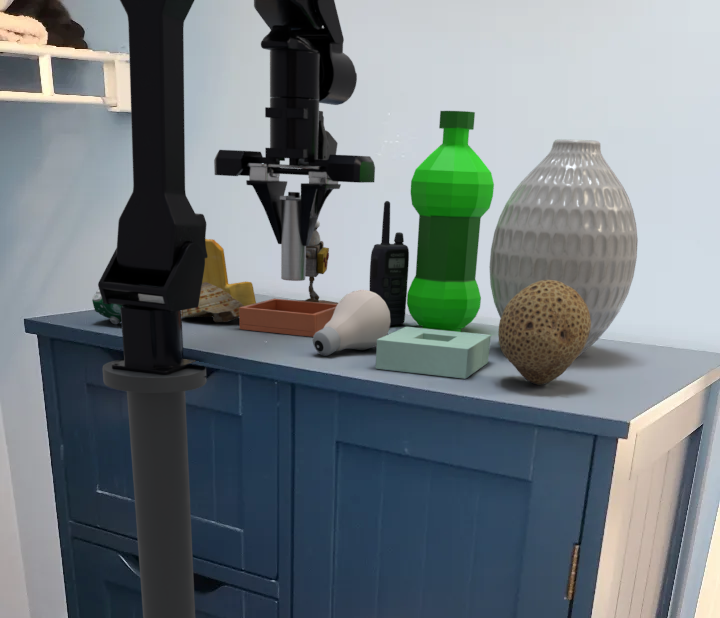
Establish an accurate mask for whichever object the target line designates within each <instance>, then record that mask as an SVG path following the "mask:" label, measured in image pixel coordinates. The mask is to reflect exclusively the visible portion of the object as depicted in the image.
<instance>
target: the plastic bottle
mask: <svg viewBox="0 0 720 618" xmlns="http://www.w3.org/2000/svg"><path fill="white" fill-rule="evenodd" d="M475 117H476V112H474V111H468V110H467V111H465V110H440V113H439V124H438V125H439V127H438V128H439V129H441V130H442V131H443V132H442V143H441V144H440V145H439V146H438V147H436V149H434V150H433V151H432V152H431V153H430V154H429V155H428V156H427V157H426V158H425V159H424V160H423V161H422V162H421V163H420V164H419V165H418V166H416V168H415V170H414V171H413V172H414V173H413V175H412V178H411V180H410V198H411V205H412V207H413V208H414V210H415V211H416V212H417V214H418V231H417V249H416V267H415V276H414V278H413V279H412V281H411V284H410V286H409V288H408V290H407V297H406V307H407V308H408V312H409V314H410V316H411V317H412V319H413V320H414V321H415V322H416V323H417V325H418V326H420V327H421V328H425V329H435V330H445V331H455V332H462V329H465V328H466V327H467V326H468V325H470V324H471V323H472V322H473V320H475V318H476V317H477V316H478V313H479V310H480V309H481V302H482V301H481V300H482V296H481V292H480V288H479V285H478V282H477V280H476V279H477V278H476V275H477V266H478V265H477V264H478V254H479V253H478V251H479V241H480V232H481V231H480V230H481V219H482V217H483V216H484V215H485V214H486V213H487V212H488V211H489V210H490V208H491V205H492V202H493V197H494V189H495V188H494V187H495V184H494V179H493V174H492V171H491V170H490V169H489V167H488V166H487V165H486V164H485V162H484V161H483V159H482V158H481V157H480V156H479V155H478V154H477V153H476V152H475V150H474V149H473V148H472V147H471V146H470V145H469V137H470V131H473V130H474V128H475Z"/></svg>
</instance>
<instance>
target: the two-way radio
mask: <svg viewBox="0 0 720 618" xmlns="http://www.w3.org/2000/svg"><path fill="white" fill-rule="evenodd" d="M381 227H382V228H381V242H380V243H376V244H374V245H373V247H372V250H371V253H370V265H369V291H371V292H374V293H376V294H378V295H379V296H380V297H381V298H382V299H383V300H384V301H385V302H386V305H387V307H388V309H389V311H390V320H391V322H390V326H396V325H397V326H402V325H403V324H405V320H406V307H407V294H408V278H409V267H410V265H409V264H410V263H409V261H410V251H409V247H408V245H406V244H404V242H405V240H404V233H403V232H395V235H394V239H393V242H394V243H391V242H390V239H391V238H390V235H391V202H390V201H389V200H386V201H384V202H383V213H382V226H381Z"/></svg>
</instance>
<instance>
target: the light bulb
mask: <svg viewBox="0 0 720 618" xmlns="http://www.w3.org/2000/svg"><path fill="white" fill-rule="evenodd" d="M337 303H338V304H337V306H336V308H335V311H334V313H333V316H332V318H331V320H330V321H329V322H328V323H327V324H326V325H325V326H324V328H323V329H321V330H320V331H318V332H316V333H315V334H314V336H313V337H312V345H313V347H314V350H316V352H317V353H318V354H319V355H321V356H324V357H328V356H330V355H331V354H333V353H335V352H340V351H342V350H345V349H348V350H357V351H365V350H368V349H372V348H375V347H377V339H379V338H382V337H384V336H386V335H389V331H390V327H391V325H390V322H391V320H390V311H389V309H388V307H387V305H386V302H385V301H384V300H383V299H382V298H381V297H380V296H379V295H378V294H376V293H374V292H371V291H370V290H367V289H358V290H353V291H351V292H349V293H346V294H345V295H344V296H343V297H342V298H341V299H340V300H339V302H337Z"/></svg>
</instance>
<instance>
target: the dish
mask: <svg viewBox="0 0 720 618" xmlns="http://www.w3.org/2000/svg"><path fill="white" fill-rule="evenodd" d="M336 306H337V304H328V303H317V302H307V301H296V300H295V299H286V298H285V299H284V298H271V299H267V300H263V301H259V302H256V303H255V304H251V305H247V306H243V307H240V308H239V317H238V319H239V320H238V321H239V323H238V324H239V330H243V331H253V332H264V333H271V334H272V333H273V334H282V335H290V336H291V335H292V336H300V337H310V338H313V336H314V334H315V333H316V332H318V331H320V330H321V329H323V328H324V326H325V325H326V324H327V323H328V322H329V321H330V320H331V318H332V316H333V313H334V311H335V308H336Z"/></svg>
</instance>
